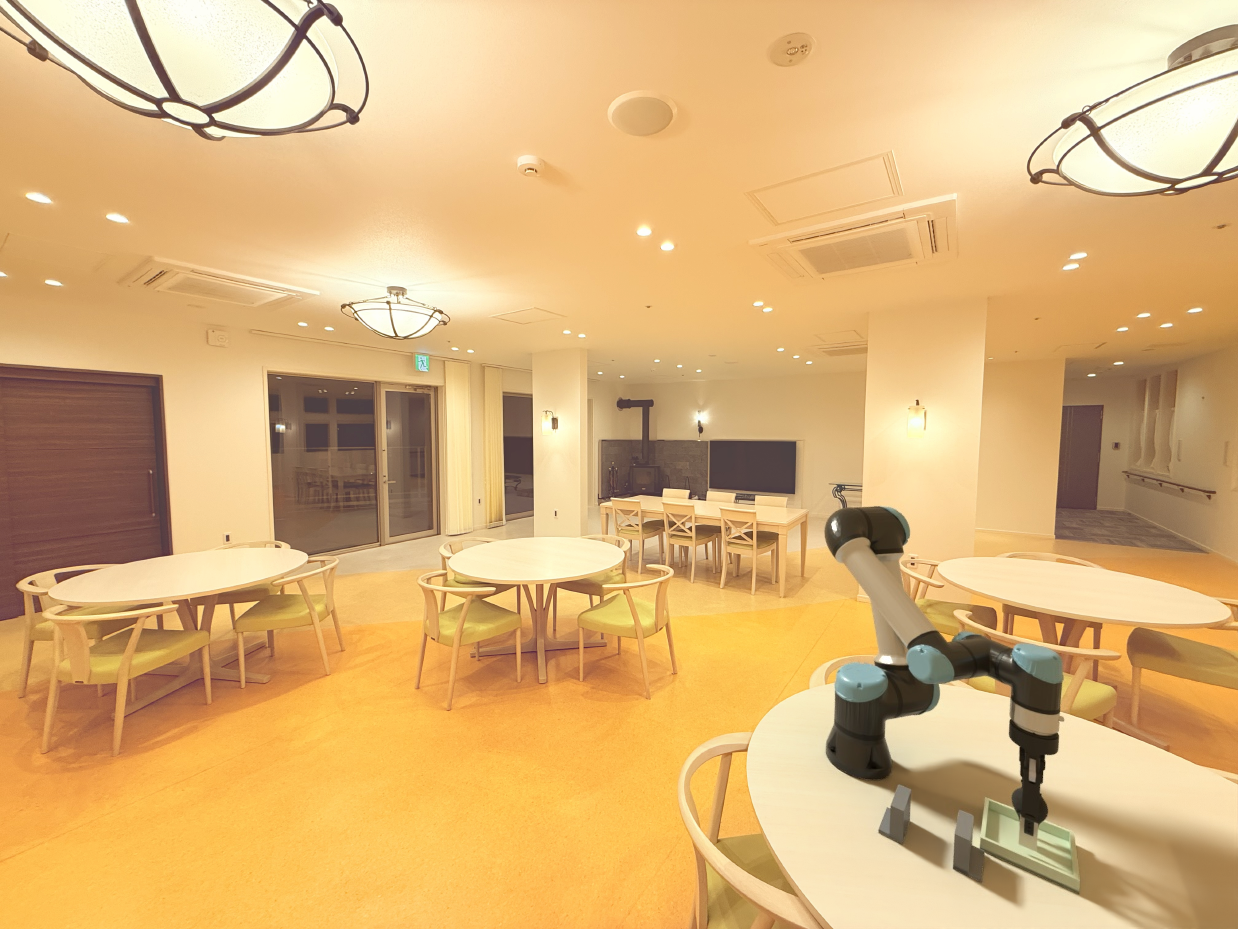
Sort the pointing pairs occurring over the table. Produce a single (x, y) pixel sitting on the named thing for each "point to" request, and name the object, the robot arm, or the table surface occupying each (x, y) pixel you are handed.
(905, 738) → the table surface
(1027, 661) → the robot arm
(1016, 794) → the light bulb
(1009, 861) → the tray
